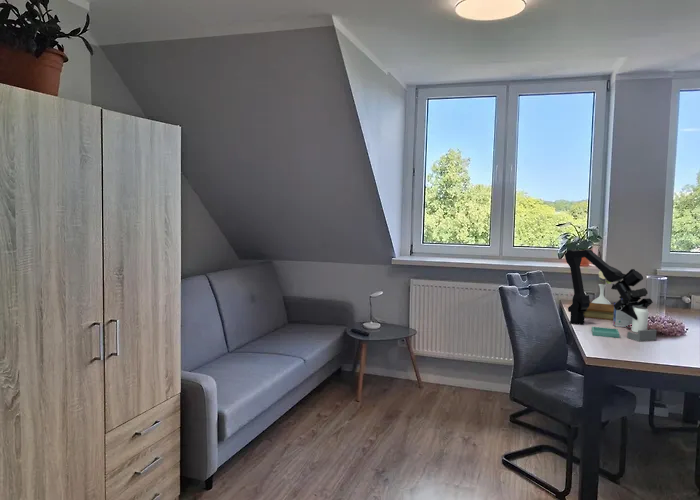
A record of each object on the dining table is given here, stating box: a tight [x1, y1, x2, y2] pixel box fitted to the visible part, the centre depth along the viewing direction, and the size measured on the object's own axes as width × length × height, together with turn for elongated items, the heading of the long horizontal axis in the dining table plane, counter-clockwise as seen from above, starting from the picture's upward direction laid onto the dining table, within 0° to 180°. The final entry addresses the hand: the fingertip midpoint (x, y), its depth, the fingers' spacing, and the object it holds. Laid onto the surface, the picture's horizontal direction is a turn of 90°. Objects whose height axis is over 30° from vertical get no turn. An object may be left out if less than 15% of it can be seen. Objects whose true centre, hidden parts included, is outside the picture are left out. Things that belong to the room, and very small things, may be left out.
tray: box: [591, 326, 620, 339], centre depth 263 cm, size 12×12×2 cm
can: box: [631, 306, 649, 334], centre depth 256 cm, size 6×6×12 cm
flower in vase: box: [591, 270, 612, 305], centre depth 339 cm, size 13×11×25 cm
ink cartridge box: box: [612, 302, 635, 328], centre depth 282 cm, size 10×6×14 cm, turn 78°
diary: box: [584, 302, 614, 321], centre depth 310 cm, size 23×19×6 cm
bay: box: [626, 329, 657, 343], centre depth 255 cm, size 7×10×5 cm
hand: (642, 319), depth 254 cm, fingers closed on can, 6 cm apart
